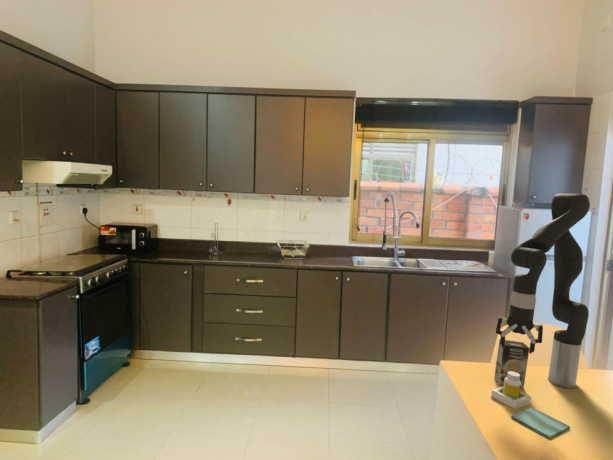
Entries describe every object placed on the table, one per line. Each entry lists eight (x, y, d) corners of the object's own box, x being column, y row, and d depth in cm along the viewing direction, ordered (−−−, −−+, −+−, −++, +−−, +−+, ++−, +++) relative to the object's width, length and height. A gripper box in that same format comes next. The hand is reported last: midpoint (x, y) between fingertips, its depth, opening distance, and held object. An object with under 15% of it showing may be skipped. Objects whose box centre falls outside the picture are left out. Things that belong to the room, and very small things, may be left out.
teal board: (531, 409, 134) (531, 407, 134) (569, 428, 124) (569, 426, 124) (511, 417, 128) (511, 415, 128) (549, 438, 118) (549, 436, 118)
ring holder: (505, 391, 146) (506, 384, 145) (530, 403, 138) (530, 396, 138) (491, 396, 141) (491, 389, 141) (515, 409, 133) (516, 402, 133)
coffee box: (498, 385, 150) (503, 344, 148) (493, 377, 156) (498, 338, 155) (524, 388, 149) (529, 348, 147) (518, 380, 155) (523, 341, 153)
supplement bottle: (521, 405, 136) (524, 378, 135) (504, 402, 137) (507, 375, 136) (516, 397, 142) (519, 371, 141) (500, 394, 143) (503, 369, 142)
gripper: (499, 303, 136) (493, 347, 138) (546, 311, 129) (540, 358, 131) (500, 298, 143) (494, 341, 144) (545, 306, 136) (539, 351, 137)
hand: (516, 349), depth 138 cm, fingers open, 8 cm apart
